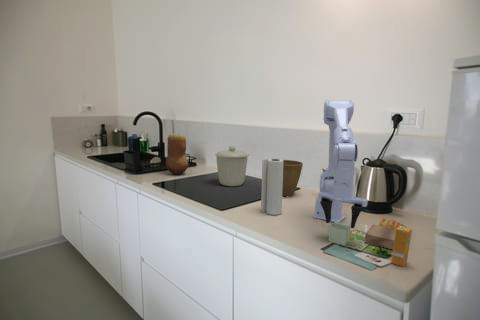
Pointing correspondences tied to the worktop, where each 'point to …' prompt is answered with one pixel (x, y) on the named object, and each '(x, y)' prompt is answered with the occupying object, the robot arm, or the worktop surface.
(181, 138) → the butternut squash
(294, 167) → the plant pot
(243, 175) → the canister
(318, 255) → the worktop surface
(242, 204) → the worktop surface
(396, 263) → the supplement box
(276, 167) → the paper towel roll
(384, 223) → the pastry
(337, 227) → the sage green block
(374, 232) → the walnut base block
